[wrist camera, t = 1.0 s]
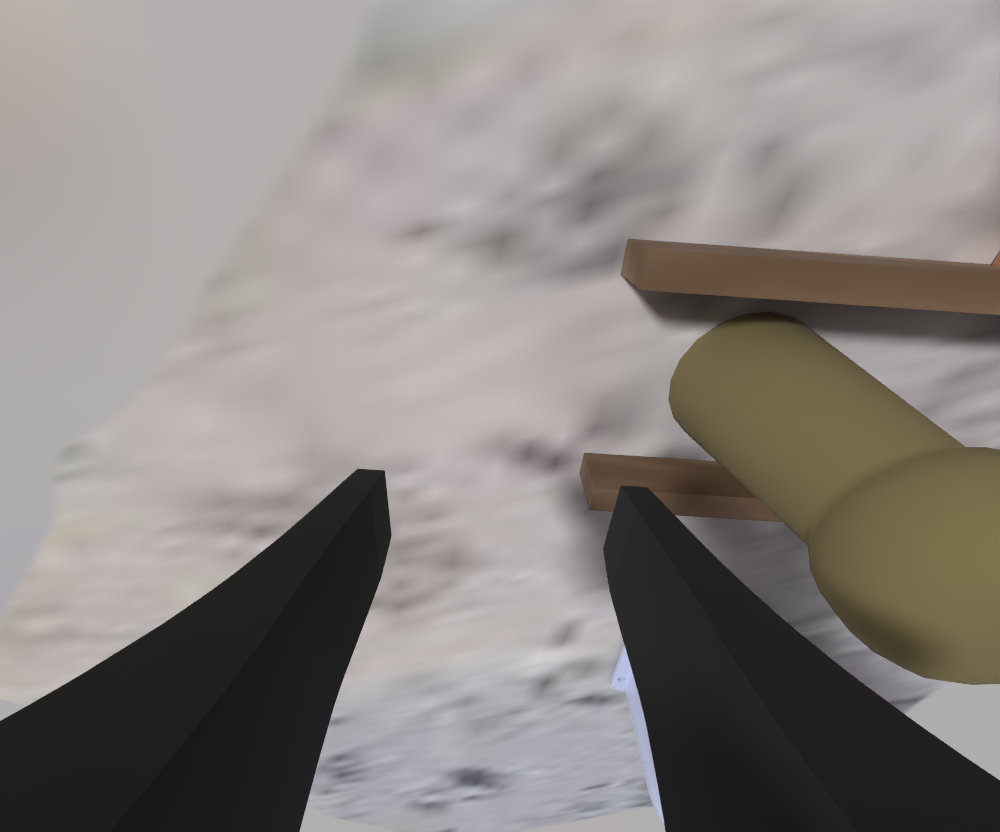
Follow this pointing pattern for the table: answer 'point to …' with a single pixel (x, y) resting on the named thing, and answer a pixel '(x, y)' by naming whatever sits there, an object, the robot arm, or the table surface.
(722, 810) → the robot arm
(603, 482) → the guide channel
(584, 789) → the table surface
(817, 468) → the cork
